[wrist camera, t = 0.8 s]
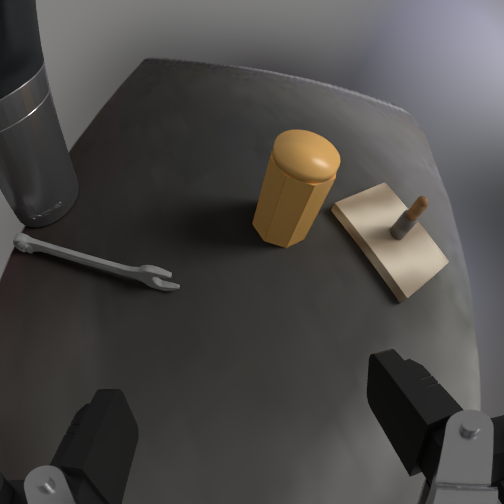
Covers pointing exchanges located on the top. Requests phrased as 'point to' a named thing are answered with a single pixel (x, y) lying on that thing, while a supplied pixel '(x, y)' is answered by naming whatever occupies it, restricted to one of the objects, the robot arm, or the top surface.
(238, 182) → the top surface
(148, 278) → the combination wrench
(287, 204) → the octagonal lidded canister
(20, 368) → the top surface
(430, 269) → the post board
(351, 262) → the top surface
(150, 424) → the top surface
